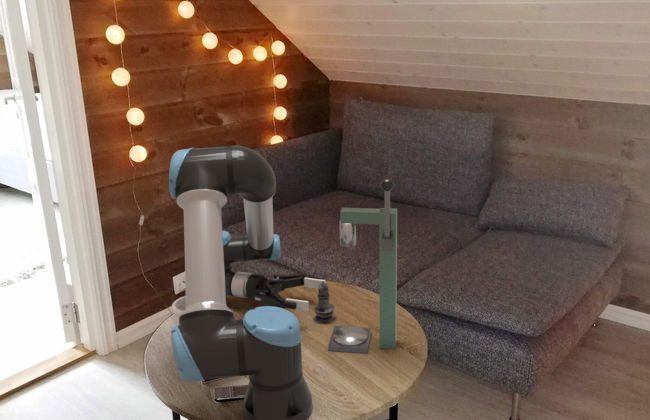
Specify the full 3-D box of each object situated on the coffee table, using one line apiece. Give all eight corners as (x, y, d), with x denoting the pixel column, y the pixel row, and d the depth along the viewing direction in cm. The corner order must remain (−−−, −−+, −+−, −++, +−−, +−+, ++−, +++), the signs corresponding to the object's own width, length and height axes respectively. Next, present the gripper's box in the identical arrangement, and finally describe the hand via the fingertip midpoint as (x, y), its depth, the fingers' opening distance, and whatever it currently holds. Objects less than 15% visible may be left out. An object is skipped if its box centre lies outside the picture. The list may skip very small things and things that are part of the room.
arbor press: (394, 355, 145) (395, 181, 130) (328, 350, 148) (322, 179, 133) (397, 334, 155) (398, 169, 140) (334, 330, 158) (329, 168, 143)
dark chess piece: (332, 312, 167) (331, 275, 163) (336, 322, 162) (335, 284, 158) (312, 315, 166) (310, 277, 162) (316, 325, 161) (314, 286, 157)
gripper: (269, 279, 183) (331, 287, 175) (230, 317, 160) (301, 328, 153) (267, 257, 180) (331, 265, 173) (228, 293, 158) (299, 303, 151)
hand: (317, 295), depth 163 cm, fingers open, 13 cm apart
